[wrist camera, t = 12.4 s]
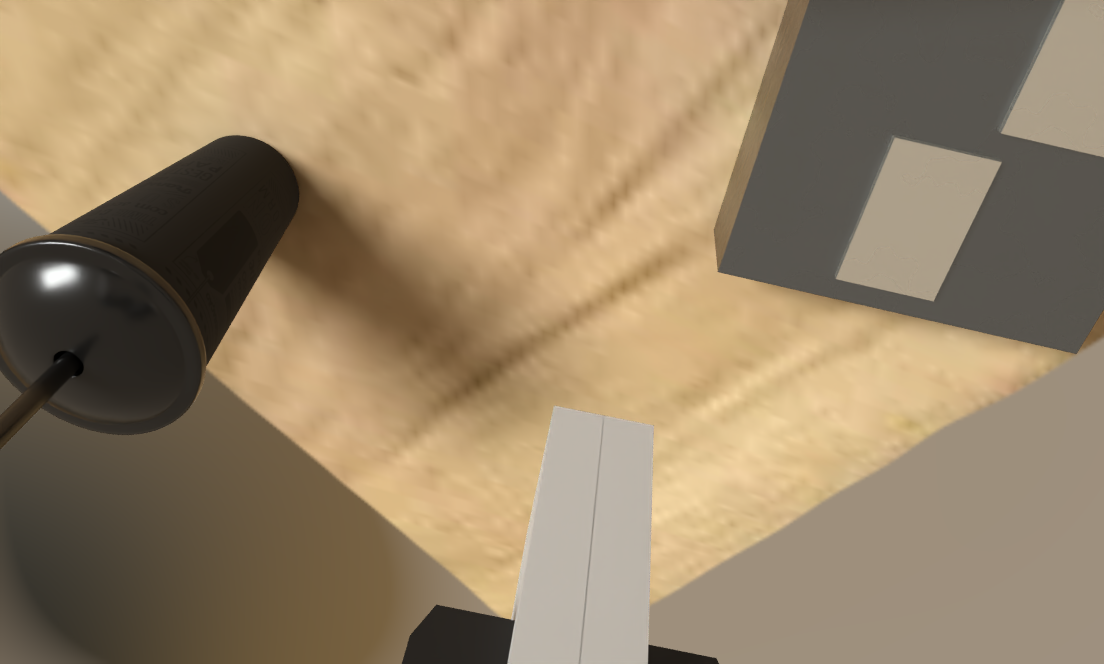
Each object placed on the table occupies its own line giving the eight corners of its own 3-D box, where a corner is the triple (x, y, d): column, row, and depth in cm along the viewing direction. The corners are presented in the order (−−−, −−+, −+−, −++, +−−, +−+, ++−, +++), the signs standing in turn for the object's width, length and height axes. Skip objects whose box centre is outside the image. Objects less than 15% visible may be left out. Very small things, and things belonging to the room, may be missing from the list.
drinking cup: (187, 71, 40) (-172, 302, 23) (352, 153, 41) (126, 430, 24) (148, 215, 44) (-183, 502, 27) (300, 285, 45) (74, 604, 28)
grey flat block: (889, -312, 30) (924, -323, 26) (1332, -206, 30) (1435, -201, 26) (713, 229, 41) (718, 281, 37) (1042, 305, 41) (1084, 364, 37)
